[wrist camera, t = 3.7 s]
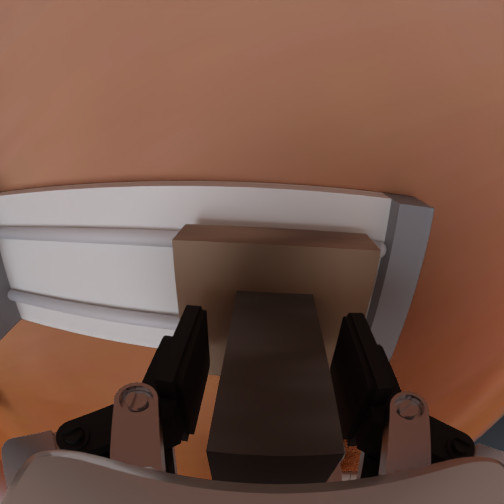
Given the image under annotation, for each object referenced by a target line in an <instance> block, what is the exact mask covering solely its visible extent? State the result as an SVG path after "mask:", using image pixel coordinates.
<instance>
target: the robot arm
mask: <svg viewBox="0 0 504 504" xmlns="http://www.w3.org/2000/svg"><path fill="white" fill-rule="evenodd" d="M209 368H210V353H209V339H208V323H207V311H206V310H202V307H201V306H196V305H186V307H185V309H184V312H183V314H182V316H181V318H180V321H179V323H178V325H177V328H176V330H175V332H174V334H173V336H167V335H165V336H163V338H162V340H161V342H160V344H159V346H158V348H157V351H156V353H155V355H154V357H153V359H152V362H151V364H150V366H149V368H148V370H147V373H146V375H145V377H144V379H143V381H142V383H138V382H136V383H130V384H127V385H125V386H123V387H122V388H120V389H119V390H118V392H117V393H116V395H115V398H114V404H113V405H110V406H108V407H105V408H102V409H100V410H97V411H95V412H92V413H89V414H87V415H84V416H81V417H79V418H76V419H73V420H70V421H68V422H66V423H64V424H63V425H61V426H60V427H59V429H58V431H57V432H55V433H53V432H52V431H51V430H50V431H46V432H41V433H37V434H32V435H27V436H22V437H17V438H12V439H9V440H7V441H6V442H5V443H4V445H3V447H2V461H3V468H4V475H5V480H6V486H7V491H6V493H5V495H4V497H3V500H2V501H1V504H504V452H502V451H500V450H496V449H493V448H490V447H488V446H485V445H482V444H479V443H478V444H477V445H476V446H475V445H474V442H473V440H472V439H471V438H470V437H469V436H468V435H467V434H465V433H463V432H461V431H459V430H457V429H455V428H453V427H451V426H449V425H447V424H445V423H443V422H441V421H439V420H437V419H435V418H433V417H431V416H429V409H428V405H427V403H426V401H425V400H424V398H422V397H421V396H420V395H418V394H416V393H414V392H409V391H405V392H401V389H400V387H399V384H398V382H397V379H396V377H395V375H394V372H393V370H392V367H391V365H390V363H389V360H388V358H387V356H386V353H385V351H384V349H383V347H382V346H381V345H380V344H379V345H377V343H376V341H375V338H374V336H373V334H372V331H371V329H370V327H369V325H368V322H367V320H366V318H365V316H364V314H363V313H348V315H347V316H344V317H343V319H342V323H341V327H340V331H339V335H338V339H337V343H336V347H335V351H334V355H333V358H332V362H331V366H330V374H331V379H332V384H333V389H334V394H335V399H336V404H337V410H338V415H339V421H340V426H341V432H342V438H343V439H347V443H348V446H357V448H358V449H359V450H361V455H360V461H359V467H358V472H357V471H348V472H343V471H342V470H341V467H340V463H341V462H342V460H343V459H344V457H345V454H344V456H343V457H342V459H341V461H340V462H339V464H338V465H337V467H336V468H335V470H334V471H333V473H332V474H331V476H330V477H329V479H328V480H327V482H325V483H309V484H254V483H238V482H226V481H217V480H208V479H201V478H194V477H188V476H182V475H178V474H177V467H176V458H175V449H174V446H176V445H178V444H180V443H181V440H182V441H188V437H189V434H194V432H195V428H196V424H197V420H198V415H199V411H200V407H201V402H202V398H203V394H204V390H205V385H206V381H207V377H208V373H209ZM343 444H344V442H343ZM344 450H345V446H344Z"/></svg>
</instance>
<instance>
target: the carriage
mask: <svg viewBox="0 0 504 504" xmlns="http://www.w3.org/2000/svg"><path fill="white" fill-rule="evenodd" d="M172 247H173V260H174V272H175V283H176V293H177V302H178V311H179V319H180V318H181V316H182V314H183V312H184V309H185V307H186V305H196V306H201V307H202V310H206V311H207V323H208V339H209V353H210V368H209V373H208V375H218V376H220V380H219V386H218V391H217V396H216V402H215V407H214V412H213V417H212V423H211V428H210V433H209V439H208V444H207V450H206V452H207V457H208V462H209V466H210V471H211V476H212V480H217V481H226V482H238V483H254V484H309V483H325V482H327V480H328V479H329V477H330V476H331V474H332V473H333V471H334V470H335V468H336V467H337V465H338V464H339V462H340V461H341V459H342V457H343V456H344V454H345V450H344V444H343V438H342V432H341V426H340V421H339V415H338V410H337V404H336V399H335V394H334V389H333V384H332V379H331V374H330V366H331V362H332V358H333V355H334V351H335V347H336V343H337V339H338V335H339V331H340V327H341V323H342V319H343V317H344V316H347V315H348V313H363V314H364V316H366V313H367V309H368V305H369V301H370V297H371V293H372V289H373V285H374V281H375V276H376V272H377V267H378V263H379V258H380V253H381V250H380V249H379V248H378V247H377V246H376V244H375V243H374V242H373V241H372V240H371V239H370V238H369V236H368V235H367V234H364V233H350V232H336V231H320V230H304V229H286V228H267V227H247V226H225V225H199V224H185V225H184V226H183V228H182V229H181V230H180V231H179V232H178V233H177V235H176V236H175V237H174V238H173V239H172Z"/></svg>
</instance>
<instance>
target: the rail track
mask: <svg viewBox="0 0 504 504" xmlns="http://www.w3.org/2000/svg"><path fill="white" fill-rule="evenodd" d="M433 214H434V208H433V207H431V206H429V205H427V204H426V203H424V202H422V201H420V200H418V199H416V198H414V197H412V196H405V195H398V194H390V193H382V192H373V191H364V190H355V189H345V188H334V187H323V186H310V185H296V184H280V183H260V182H234V181H135V182H109V183H91V184H76V185H63V186H51V187H41V188H31V189H22V190H14V191H6V192H0V340H1V339H2V338H3V337H4V336H5V335H6V334H7V333H8V332H9V331H10V330H11V329H12V328H13V327H14V326H15V325H16V324H17V323H18V322H19V321H20V320H21V319H24V320H28V321H31V322H35V323H39V324H42V325H46V326H50V327H54V328H58V329H62V330H66V331H70V332H74V333H79V334H83V335H88V336H92V337H97V338H102V339H107V340H112V341H118V342H123V343H129V344H135V345H141V346H147V347H154V348H158V346H159V344H160V342H161V340H162V338H163V336H165V335H167V336H173V334H174V332H175V330H176V328H177V325H178V323H179V321H180V319H179V311H178V302H177V293H176V283H175V272H174V260H173V247H172V239H173V238H174V237H175V236H176V235H177V233H178V232H179V231H180V230H181V229H182V228H183V226H184V225H185V224H199V225H225V226H247V227H267V228H286V229H304V230H320V231H336V232H350V233H364V234H367V235H368V236H369V238H370V239H371V240H372V241H373V242H374V243H375V244H376V246H377V247H378V248H379V249H380V250H381V253H380V258H379V263H378V267H377V272H376V276H375V281H374V285H373V289H372V293H371V297H370V301H369V305H368V309H367V313H366V316H365V318H366V320H367V322H368V325H369V327H370V329H371V331H372V334H373V336H374V338H375V341H376V343H377V345H379V344H380V345H381V346H382V347H383V349H384V351H385V353H386V356H387V358H388V360H389V362H390V359H391V357H392V354H393V352H394V349H395V347H396V344H397V342H398V339H399V336H400V334H401V331H402V328H403V325H404V322H405V320H406V317H407V314H408V311H409V308H410V305H411V301H412V298H413V295H414V292H415V288H416V285H417V282H418V278H419V275H420V271H421V267H422V263H423V259H424V255H425V251H426V247H427V243H428V238H429V234H430V229H431V224H432V219H433Z"/></svg>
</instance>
